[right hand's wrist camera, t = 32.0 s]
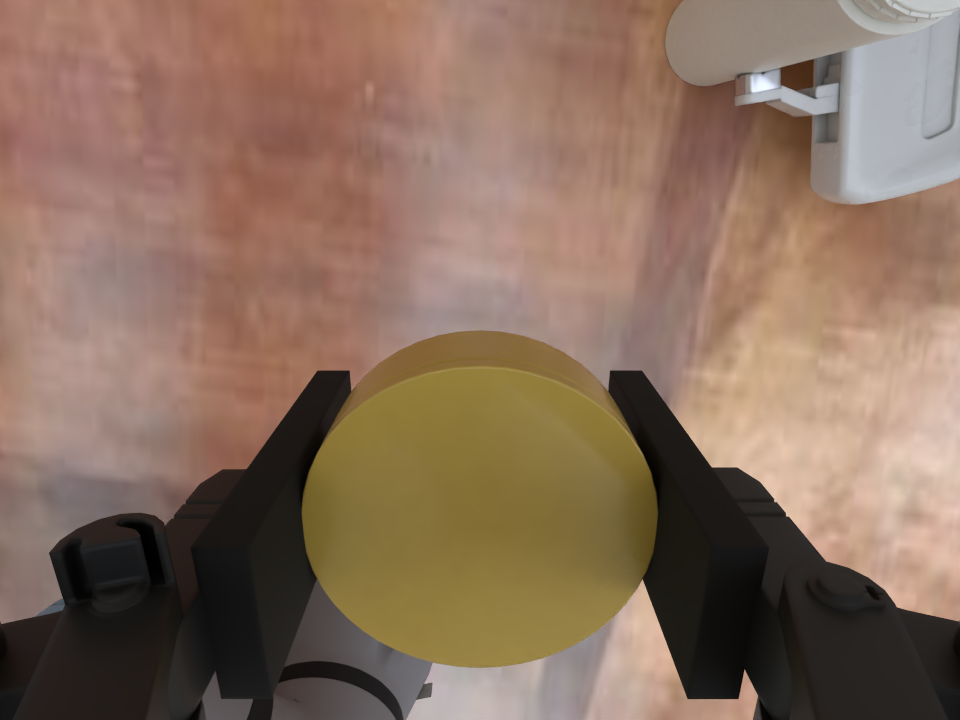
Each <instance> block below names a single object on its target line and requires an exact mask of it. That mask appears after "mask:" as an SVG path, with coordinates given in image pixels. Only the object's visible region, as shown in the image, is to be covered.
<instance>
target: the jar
mask: <svg viewBox="0 0 960 720" xmlns="http://www.w3.org/2000/svg"><path fill="white" fill-rule="evenodd" d="M959 9H960V0H683V1H682V2H681V3H680V5H679V6H678V7H677V8H676V10H675V11H674V13H673V15H672V17H671V19H670V21H669V24H668V27H667V31H666V37H665V49H666V55H667V58H668V61H669V64H670V66H671V68H672V69H673V70H674V72H675V73H676V74H677V75H678V76H679V77H680V78H681V79H682V80H684V81H686V82H687V83H690V84H692V85H696V86H712V85H716V84H720V83H724V82H728V81H731V80H735V77H737V76H741V75H745V74H750V73H758V72H760V73H761V72H765V71H769V70H773V69H777V68H781V67H785V66H788V65H792V64H796V63H800V62H803V61H807V60H811V59H815V58H819V57H822V56H826V55H830V54H834V53H838V52H841V51H845V50H849V49H853V48H857V47H860V46H864V45H868V44H872V43H876V42H879V41H883V40H887V39H891V38H895V37H898V36H902V35H906V34H910V33H914V32H917V31H919V30H922V29H925V28H927V27H929V26H931V25H933V24H935V23H937V22H938V21H940V20H941V19H943V18H944V17H946V16H949V15H952V12H954V11H956V10H959Z"/></svg>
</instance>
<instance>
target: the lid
mask: <svg viewBox="0 0 960 720" xmlns="http://www.w3.org/2000/svg"><path fill="white" fill-rule="evenodd" d="M301 514H302V523H303V532H304V539H305V547H306V553H307V556H308V559H309V562H310V564H311V567H312V570H313V572H314V574H315V576H316V577H317V579H318V581H319V583H320V585H321V587H322V588H323V590H324V591H325V592H326V594H327V595H328V597H329V598H330V599H331V601H332V602H333V603H334V605H335V606H336V607H337V608H338V609H339V610H340V611H341V612H342V613H343V614H344V615H345V616H346V617H347V618H348V619H349V620H350V621H351V622H353V623H354V624H355V625H356V626H357V627H359V628H360V629H361V630H362V631H364V632H365V633H367V634H368V635H370V636H371V637H373V638H375V639H376V640H378V641H379V642H381V643H383V644H385V645H387V646H389V647H391V648H393V649H395V650H397V651H399V652H402V653H405V654H407V655H410V656H413V657H415V658H419V659H422V660H426V661H430V662H434V663H438V664H445V665H451V666H458V667H475V668H483V667H502V666H509V665H515V664H522V663H526V662H530V661H533V660H537V659H541V658H544V657H547V656H550V655H552V654H555V653H558V652H560V651H563V650H565V649H567V648H569V647H571V646H573V645H575V644H577V643H579V642H580V641H582V640H584V639H585V638H587V637H588V636H590V635H591V634H593V633H594V632H596V631H597V630H599V629H600V628H601V627H602V626H603V625H605V624H606V623H607V622H608V621H610V620H611V619H612V618H613V617H614V616H615V615H616V614H617V613H618V612H619V611H620V610H621V609H622V607H623V606H624V605H625V604H626V603H627V602H628V600H629V599H630V598H631V596H632V595H633V593H634V592H635V591H636V589H637V588H638V586H639V584H640V582H641V581H642V579H643V577H644V575H645V573H646V571H647V569H648V566H649V563H650V561H651V558H652V555H653V552H654V544H655V537H656V529H657V520H658V501H657V492H656V488H655V485H654V481H653V477H652V474H651V471H650V469H649V467H648V464H647V462H646V460H645V457H644V455H643V453H642V451H641V449H640V447H639V446H638V444H637V442H636V440H635V438H634V436H633V434H632V432H631V430H630V428H629V427H628V425H627V423H626V421H625V419H624V417H623V415H622V413H621V411H620V410H619V408H618V406H617V405H616V403H615V401H614V400H613V398H612V397H611V395H610V394H609V392H608V391H607V389H606V388H605V387H604V386H603V385H602V384H601V383H600V381H599V380H598V379H597V378H596V377H595V376H594V375H593V374H592V373H591V372H590V371H588V370H587V369H586V368H585V367H584V366H583V365H582V364H580V363H579V362H577V361H576V360H574V359H573V358H571V357H570V356H568V355H567V354H565V353H564V352H562V351H560V350H558V349H556V348H554V347H552V346H549V345H547V344H545V343H543V342H540V341H537V340H534V339H531V338H528V337H525V336H520V335H515V334H510V333H505V332H495V331H464V332H455V333H450V334H444V335H439V336H435V337H432V338H429V339H426V340H423V341H420V342H417V343H415V344H412V345H410V346H408V347H406V348H404V349H402V350H400V351H398V352H396V353H395V354H393V355H391V356H390V357H388V358H387V359H385V360H384V361H382V362H381V363H379V364H378V365H377V366H376V367H375V368H374V369H372V370H371V371H370V372H369V373H368V374H367V375H365V377H364V378H363V379H362V380H361V381H360V382H359V383H358V384H357V386H356V387H355V388H354V389H353V390H352V392H351V393H350V395H349V396H348V398H347V399H346V401H345V402H344V404H343V405H342V407H341V409H340V411H339V413H338V415H337V417H336V418H335V420H334V422H333V424H332V426H331V428H330V430H329V432H328V434H327V435H326V437H325V439H324V441H323V443H322V445H321V447H320V449H319V450H318V452H317V455H316V457H315V459H314V461H313V463H312V466H311V468H310V470H309V473H308V476H307V480H306V483H305V487H304V490H303V498H302V507H301Z"/></svg>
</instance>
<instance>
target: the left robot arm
mask: <svg viewBox="0 0 960 720" xmlns="http://www.w3.org/2000/svg"><path fill="white" fill-rule="evenodd" d="M764 101H765V104H767V105H769V106H772V107H774V108H776V109H778V110H780V111H782V112H785V113H787V114H789V115H791V116H793V117H801V116H811V115H812V136H811V171H810V188H811V190H812V191H813V192H814V193H815V194H817V195H818V196H820V197H821V198H823V199H825V200H826V201H829V202H833V203H839V204H866V203H872V202H877V201H882V200H887V199H892V198H896V197H900V196H904V195H908V194H912V193H916V192H919V191H923V190H926V189H930V188H933V187H936V186H939V185H943V184H946V183H949V182H951V181H954V180H957V179H959V178H960V9H959V10H956V11H954V12H952V15H949V16H946V17H944V18H943V19H941V20H940V21H938V22H937V23H935V24H933V25H931V26H929V27H927V28H925V29H922V30H919V31H917V32H914V33H910V34H906V35H902V36H898V37H895V38H891V39H887V40H883V41H879V42H876V43H872V44H868V45H864V46H860V47H857V48H853V49H849V50H845V51H841V52H838V53H834V54H830V55H826V56H822V57H819V58H815V59H814V68H813V87H811V88H805V89H800V90H797V91H794V90H792V89H790V88H787V87H785V86H782V85H781V74H780V68H779V69H773V70H769V71H765V72H761V73H760V72H758V73H750V74H745V75H741V76H737V77H735V97H734V102H735V106H740V105H746V104H752V103H758V102H764Z"/></svg>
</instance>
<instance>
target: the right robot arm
mask: <svg viewBox="0 0 960 720" xmlns="http://www.w3.org/2000/svg"><path fill="white" fill-rule="evenodd" d="M608 392H609V394H610V395H611V397H612V398H613V400H614V401H615V403H616V405H617V406H618V408H619V410H620V411H621V413H622V415H623V417H624V419H625V421H626V423H627V425H628V427H629V428H630V430H631V432H632V434H633V436H634V438H635V440H636V442H637V444H638V446H639V447H640V449H641V451H642V453H643V455H644V457H645V460H646V462H647V464H648V467H649V469H650V471H651V474H652V477H653V481H654V485H655V488H656V492H657V501H658V520H657V529H656V537H655V544H654V552H653V555H652V558H651V561H650V563H649V566H648V569H647V571H646V573H645V575H644V577H643V581H644V584H645V586H646V589H647V592H648V594H649V597H650V600H651V602H652V605H653V608H654V610H655V613H656V616H657V618H658V621H659V624H660V626H661V629H662V632H663V634H664V637H665V640H666V642H667V645H668V648H669V650H670V653H671V656H672V658H673V661H674V664H675V666H676V669H677V672H678V674H679V677H680V680H681V682H682V685H683V688H684V690H685V693H686V696H687V698H688V699H739V694H740V689H741V684H742V679H743V674H744V669H745V671H746V673H747V675H748V677H749V679H750V680H751V682H752V684H753V686H754V688H755V690H756V692H757V694H758V699H757V704H756V708H755V713H754V717H753V720H960V621H959V622H958V621H954V620H949V619H944V618H940V617H935V616H931V615H926V614H921V613H917V612H912V611H908V610H904V609H900V608H897V607H896V605H895V603H894V602H893V601H892V599H891V598H890V597H889V595H888V594H887V593H886V591H885V590H884V589H882V588H881V587H880V586H879V585H877V584H876V583H875V582H873V581H872V580H871V579H869V578H868V577H866V576H864V575H862V574H860V573H858V572H856V571H854V570H852V569H850V568H847V567H844V566H840V565H837V564H833V563H830V562H826V561H825V560H824V558H823V557H822V556H821V555H820V554H819V552H818V551H817V550H816V549H815V548H814V546H813V545H812V544H811V543H810V542H809V540H808V539H807V538H806V537H805V536H804V534H803V533H802V532H801V531H800V530H799V528H798V527H797V526H796V525H795V524H794V522H793V521H792V520H791V519H790V518H789V517H786V513H785V512H784V510H783V509H782V508H781V507H780V506H779V504H778V503H777V502H774V498H773V497H772V496H771V495H770V494H769V492H768V491H767V490H766V489H765V488H764V486H763V485H762V484H761V483H760V482H759V481H757V480H756V479H754V478H753V477H751V476H750V475H748V474H746V473H745V472H743V471H742V470H740V469H739V468H712V467H711V466H710V465H709V463H708V462H707V460H706V459H705V458H704V456H703V455H702V453H701V452H700V451H699V449H698V448H697V447H696V445H695V444H694V442H693V441H692V440H691V438H690V437H689V435H688V434H687V433H686V431H685V430H684V428H683V427H682V426H681V424H680V423H679V422H678V420H677V419H676V417H675V416H674V415H673V413H672V412H671V410H670V409H669V408H668V406H667V405H666V403H665V402H664V401H663V399H662V398H661V397H660V395H659V394H658V392H657V391H656V390H655V388H654V387H653V385H652V384H651V383H650V381H649V380H648V378H647V377H646V376H645V374H644V373H643V372H642V371H610V379H609V391H608ZM350 393H351V383H350V371H317V372H316V374H315V375H314V377H313V378H312V379H311V381H310V382H309V384H308V385H307V386H306V388H305V389H304V390H303V392H302V393H301V395H300V396H299V397H298V399H297V400H296V402H295V403H294V404H293V406H292V407H291V409H290V410H289V411H288V413H287V414H286V415H285V417H284V418H283V420H282V421H281V422H280V424H279V425H278V427H277V428H276V429H275V431H274V432H273V434H272V435H271V436H270V438H269V439H268V440H267V442H266V443H265V445H264V446H263V447H262V449H261V450H260V452H259V453H258V454H257V456H256V457H255V459H254V460H253V461H252V463H251V464H250V465H249V467H248V468H247V469H223V470H221V471H220V472H218V473H217V474H215V475H213V476H212V477H210V478H209V479H207V480H206V481H204V482H202V483H201V484H200V485H199V486H198V487H197V488H196V490H195V491H194V492H193V493H192V494H191V496H190V497H189V498H188V499H187V500H186V504H183V505H182V506H181V508H180V509H179V510H178V511H177V512H176V514H175V515H174V519H171V520H170V521H169V522H168V523H167V525H166V526H164V522H162V521H161V520H160V519H159V518H157V517H156V516H154V515H149V514H143V513H130V514H119V515H115V516H111V517H107V518H103V519H99V520H97V521H94V522H92V523H90V524H87V525H85V526H83V527H80V528H78V529H76V530H75V531H73V532H72V533H70V534H69V535H67V536H66V537H64V538H63V539H61V540H60V541H59V542H58V543H57V545H56V546H55V547H54V548H53V549H52V550H51V551H50V553H49V554H50V557H51V561H52V564H53V567H54V570H55V574H56V577H57V580H58V584H59V587H60V590H61V593H62V597H63V599H61V600H59V601H57V602H55V603H54V604H52V605H51V606H49V607H48V608H46V609H45V610H43V611H42V612H41V613H39V614H38V615H37V616H36V617H32V618H28V619H23V620H19V621H14V622H9V623H5V624H1V623H0V720H406V719H407V717H408V715H409V713H410V711H411V709H412V707H413V705H414V703H415V701H416V700H418V699H422V698H427V697H431V693H432V683H428V684H424V683H425V681H426V679H427V677H428V674H429V672H430V669H431V665H432V663H433V662H430V661H426V660H422V659H419V658H415V657H413V656H410V655H407V654H405V653H402V652H399V651H397V650H395V649H393V648H391V647H389V646H387V645H385V644H383V643H381V642H379V641H378V640H376V639H375V638H373V637H371V636H370V635H368V634H367V633H365V632H364V631H362V630H361V629H360V628H359V627H357V626H356V625H355V624H354V623H353V622H351V621H350V620H349V619H348V618H347V617H346V616H345V615H344V614H343V613H342V612H341V611H340V610H339V609H338V608H337V607H336V606H335V605H334V603H333V602H332V601H331V599H330V598H329V597H328V595H327V594H326V592H325V591H324V590H323V588H322V587H321V585H320V583H319V581H318V579H317V577H316V576H315V574H314V572H313V570H312V567H311V564H310V562H309V559H308V556H307V553H306V547H305V539H304V532H303V523H302V514H301V507H302V498H303V490H304V487H305V483H306V480H307V476H308V473H309V470H310V468H311V466H312V463H313V461H314V459H315V457H316V455H317V452H318V450H319V449H320V447H321V445H322V443H323V441H324V439H325V437H326V435H327V434H328V432H329V430H330V428H331V426H332V424H333V422H334V420H335V418H336V417H337V415H338V413H339V411H340V409H341V407H342V405H343V404H344V402H345V401H346V399H347V398H348V396H349V395H350Z"/></svg>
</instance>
